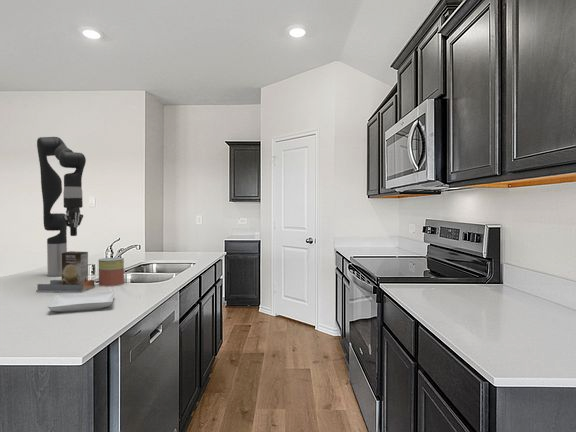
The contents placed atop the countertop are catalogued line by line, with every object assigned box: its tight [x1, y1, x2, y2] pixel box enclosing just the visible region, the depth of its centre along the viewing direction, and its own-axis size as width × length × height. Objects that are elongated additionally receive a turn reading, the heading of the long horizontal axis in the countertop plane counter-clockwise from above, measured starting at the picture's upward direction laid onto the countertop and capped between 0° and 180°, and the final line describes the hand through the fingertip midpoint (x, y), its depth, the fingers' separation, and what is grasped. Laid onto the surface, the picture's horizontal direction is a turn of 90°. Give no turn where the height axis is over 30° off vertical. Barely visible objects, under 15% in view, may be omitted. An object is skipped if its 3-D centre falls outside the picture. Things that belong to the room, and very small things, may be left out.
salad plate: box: [47, 290, 115, 313], centre depth 158 cm, size 21×21×3 cm
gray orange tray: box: [36, 279, 96, 294], centre depth 187 cm, size 12×20×4 cm, turn 88°
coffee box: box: [61, 250, 89, 284], centre depth 187 cm, size 9×6×16 cm
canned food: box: [98, 257, 125, 287], centre depth 200 cm, size 11×11×12 cm
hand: (73, 235), depth 186 cm, fingers closed
